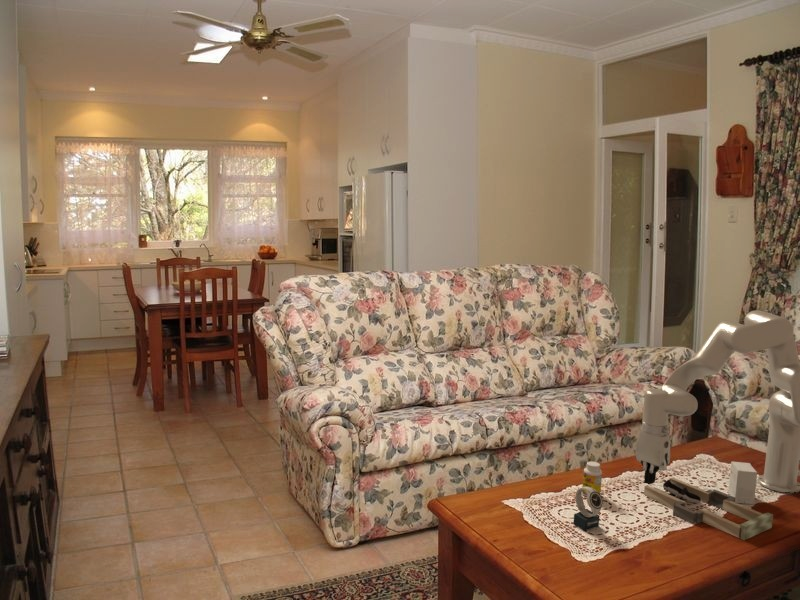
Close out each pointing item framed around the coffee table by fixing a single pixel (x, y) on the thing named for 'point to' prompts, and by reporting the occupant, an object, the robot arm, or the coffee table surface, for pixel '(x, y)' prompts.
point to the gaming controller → (680, 492)
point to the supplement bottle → (592, 477)
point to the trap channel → (743, 531)
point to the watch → (586, 517)
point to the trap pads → (716, 504)
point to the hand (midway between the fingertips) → (649, 482)
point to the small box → (742, 482)
